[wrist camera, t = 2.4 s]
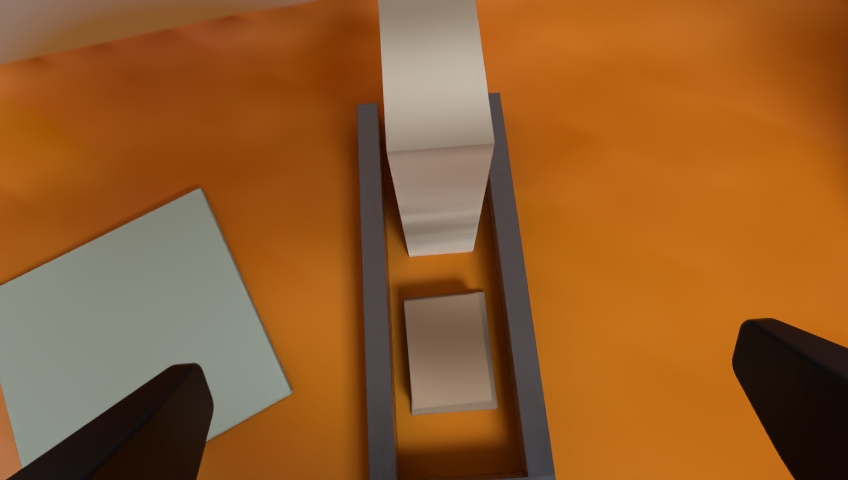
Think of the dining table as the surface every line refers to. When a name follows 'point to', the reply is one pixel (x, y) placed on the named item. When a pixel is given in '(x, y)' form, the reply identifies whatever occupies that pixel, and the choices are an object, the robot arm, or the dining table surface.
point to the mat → (133, 327)
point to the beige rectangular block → (436, 120)
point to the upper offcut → (446, 351)
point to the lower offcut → (493, 403)
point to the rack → (514, 302)
